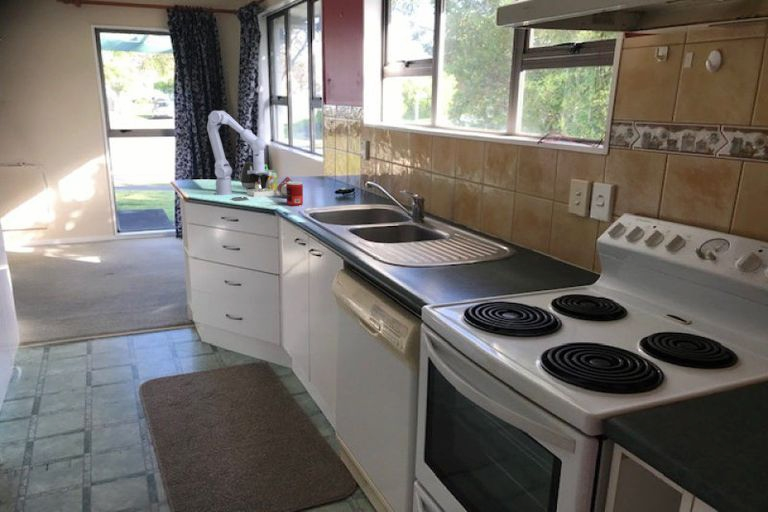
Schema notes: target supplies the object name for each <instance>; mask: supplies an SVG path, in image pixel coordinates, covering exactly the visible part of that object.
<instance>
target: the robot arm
mask: <svg viewBox="0 0 768 512" xmlns="http://www.w3.org/2000/svg"><path fill="white" fill-rule="evenodd" d="M207 119H208V120H207V124H206V125H207V126H206V130H207V133H208V138H209V142H210V145H211V149H212V152H213V156H214V161H215V163H214V174H215V176H216V180H215V188H216V189H215V191H216V192H214V195H218V196H227V195H234V193H233V192H232V190H233V189H232V177H231V176H232V174H233V168H232V166H231V165H230V163H229V161H228V160H227V159H226V155H225V151H224V147H223V143H222V140H221V137H220V132H219V130H220V129H221V126H222V125H228V126H230V128H232V129H233V130H234V131H236V132H237V133H238V134H239V135H240V139H242V140H243V141H244V142H245V143H246V144H248V145H249V146H250V148H251V149H252V159H253V160H252V161H253V162H252V163H253V164H254V170H247V173H248V174H252V175H250V177H251V179H252V181H253V183H254V186H255V182H259V177H260V180H261V187H262V189H265V187H266V183H267V180H268V178H269V176H271V175H272V172H269V171H265V169H266V167H265V150H264V149H265V148H266V143H265V141H264V140H263V139H262V138H260V137H259V136H256V135H255V134H254V133H253V131H252V130H251V129H245V128H244V127H242V125H240V124H239V123H238V122H237V121H236V119H234V118H233V117H232V116H231V115H230V114H228V113H227V112H226V111H225V110H212V111H211V112H210V113H209V114H208V116H207ZM257 173H261V174H257ZM259 175H262V176H259Z"/></svg>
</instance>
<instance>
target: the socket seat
mask: <svg viewBox="0 0 768 512" xmlns="http://www.w3.org/2000/svg"><path fill="white" fill-rule="evenodd" d="M229 200H231V201H232V202H242V201H245V202H246V201H250V199H249V198H248V197H246V196H243V197H242V196H235V197H231V198H229Z"/></svg>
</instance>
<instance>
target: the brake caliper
mask: <svg viewBox="0 0 768 512" xmlns="http://www.w3.org/2000/svg"><path fill="white" fill-rule="evenodd" d="M287 182H294V181H293V180H292V179H291V178H290V177H289V176H286V177H285V178H283V180H282V181H281V182H280V183H279V184H278V190H277V191H275V194H276V196H277V197H278V198H279V199H287V190H286V183H287Z"/></svg>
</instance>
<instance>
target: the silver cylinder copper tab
mask: <svg viewBox="0 0 768 512" xmlns="http://www.w3.org/2000/svg"><path fill="white" fill-rule="evenodd" d="M254 189H255V192H263V189H262V187H261V181H259V182H255V188H254Z"/></svg>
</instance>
